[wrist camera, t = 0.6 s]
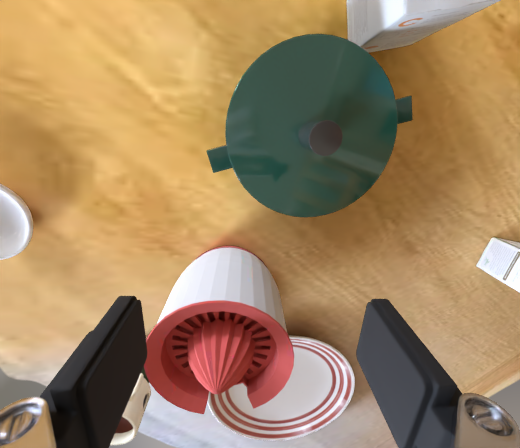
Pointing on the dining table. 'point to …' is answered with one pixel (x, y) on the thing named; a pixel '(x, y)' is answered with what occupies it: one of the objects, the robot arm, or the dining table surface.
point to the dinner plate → (292, 396)
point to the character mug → (133, 412)
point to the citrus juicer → (220, 333)
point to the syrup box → (502, 261)
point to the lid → (311, 125)
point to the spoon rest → (13, 223)
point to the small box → (403, 20)
